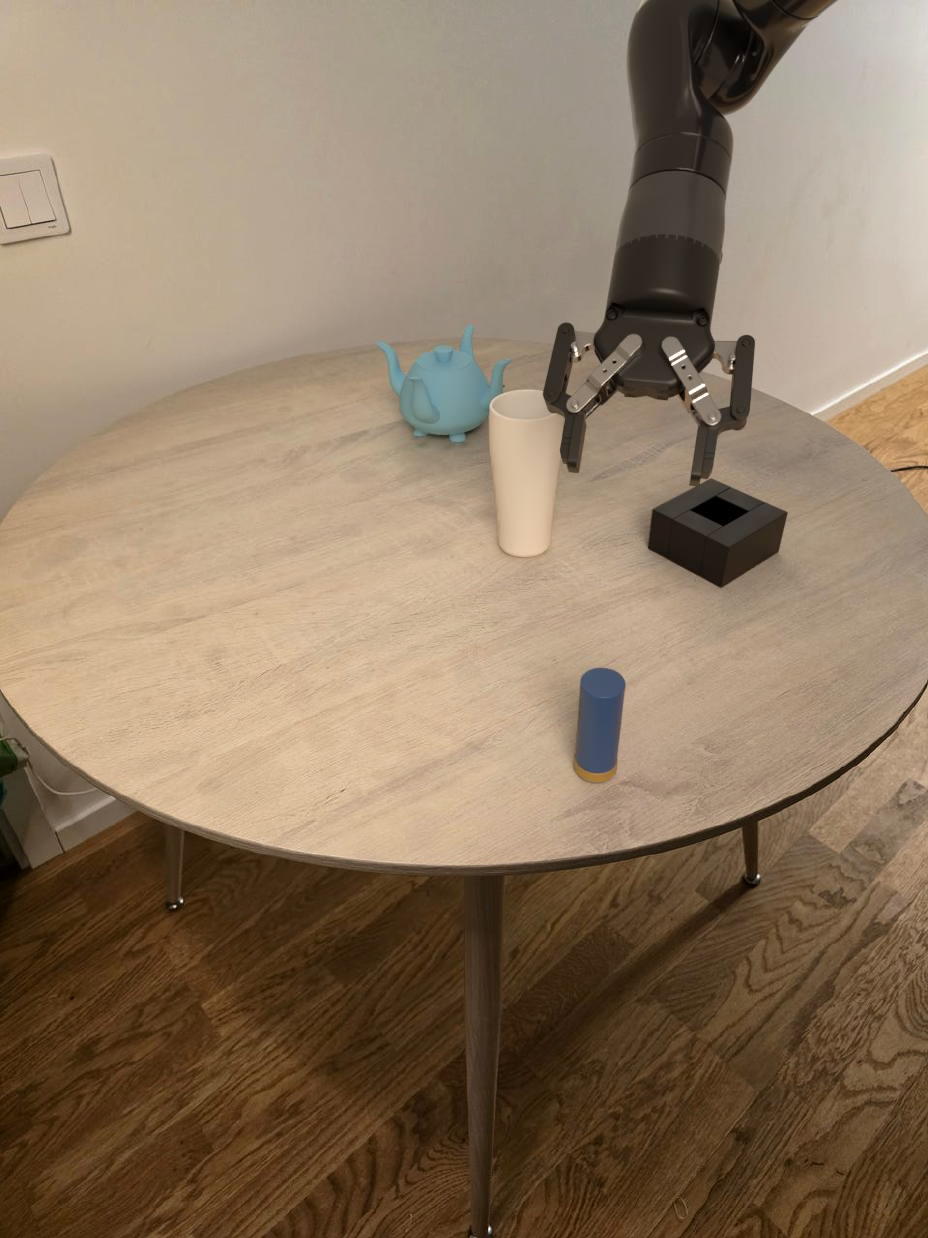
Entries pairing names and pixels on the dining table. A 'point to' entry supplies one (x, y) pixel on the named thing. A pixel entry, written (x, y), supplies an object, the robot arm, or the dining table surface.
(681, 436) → the dining table surface
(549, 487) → the drinking glass
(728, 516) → the holder
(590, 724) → the handle
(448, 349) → the teapot
